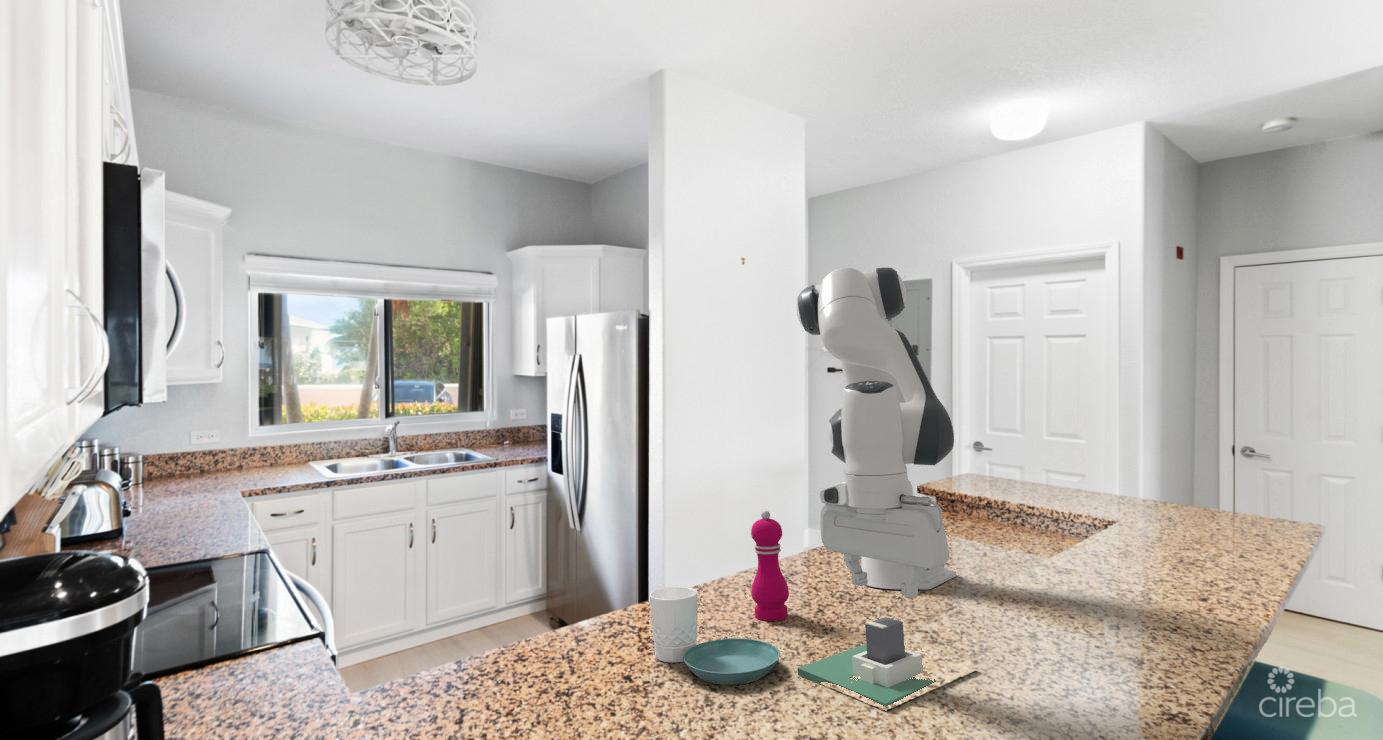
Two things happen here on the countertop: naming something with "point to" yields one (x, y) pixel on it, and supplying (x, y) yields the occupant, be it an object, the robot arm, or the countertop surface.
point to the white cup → (674, 622)
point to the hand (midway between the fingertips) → (884, 590)
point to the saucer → (731, 660)
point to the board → (869, 674)
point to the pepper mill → (768, 571)
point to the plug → (885, 640)
